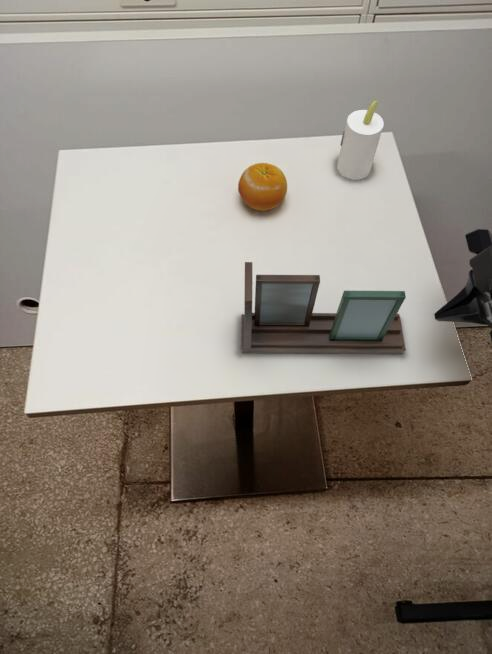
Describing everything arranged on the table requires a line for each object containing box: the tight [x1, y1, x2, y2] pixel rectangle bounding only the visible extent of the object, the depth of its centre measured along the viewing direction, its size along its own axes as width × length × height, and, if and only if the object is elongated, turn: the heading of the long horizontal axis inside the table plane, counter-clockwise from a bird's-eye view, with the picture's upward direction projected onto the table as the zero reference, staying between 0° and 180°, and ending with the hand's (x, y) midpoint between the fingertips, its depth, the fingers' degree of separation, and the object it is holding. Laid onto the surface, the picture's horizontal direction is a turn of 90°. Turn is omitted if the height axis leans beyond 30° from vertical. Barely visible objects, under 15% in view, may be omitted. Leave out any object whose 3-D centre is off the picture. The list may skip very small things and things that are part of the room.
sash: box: [329, 290, 407, 341], centre depth 71 cm, size 8×1×13 cm, turn 90°
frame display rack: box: [240, 261, 406, 355], centre depth 72 cm, size 25×6×16 cm, turn 90°
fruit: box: [237, 162, 288, 212], centre depth 89 cm, size 8×9×8 cm
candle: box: [336, 99, 385, 181], centre depth 89 cm, size 6×6×15 cm
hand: (435, 317), depth 71 cm, fingers closed
